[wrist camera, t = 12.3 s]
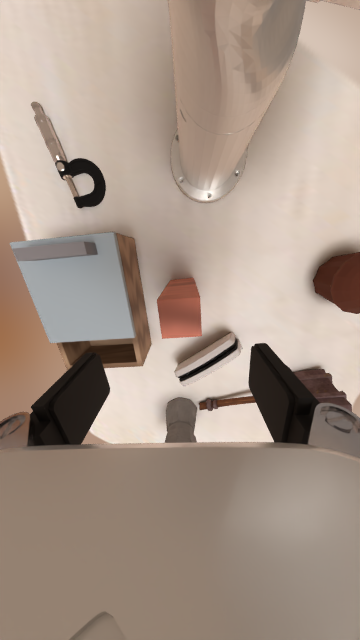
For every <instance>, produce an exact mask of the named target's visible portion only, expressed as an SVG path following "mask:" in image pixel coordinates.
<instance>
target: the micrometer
mask: <svg viewBox="0 0 360 640" xmlns="http://www.w3.org/2000/svg"><path fill="white" fill-rule="evenodd" d="M31 106H32V108H33V110H34V111H35V114H36V115H35V117H34V119H35V121H36V123H37V126H38V127H39V129H40V132H41V134H42V136H43V138H44V140H45V143H46V146H47V148H48V150H49V152H50V154H51V156H52V158H53V160H54V162H55V165H56V167H57V169H58V172H59V174H60V176H61V178H62V179H63V180H66V181H67V183H68V185H69V188H70V190H71V192H72V194H73V197H74V200H75V202H76V205H77V207H78V208H82V207H83V206H84V207H92V206H96V205H98V204H99V203H100V202H101V201H102V200H103V198H104V195H105V190H106V185H105V180H104V177H103V174H102V173H101V171H100V169H99V168H98V167H97V166H96V165H95V164H94V163H92V162H91V161H89V160H87V159H82V158H78V159H74V160H72V161H71V162H69V163H67V162H66V158H65V155H64V153H63V151H62V148H61V145H60V143H59V141H58V139H57V137H56V134H55V132H54V130H53V127H52V124H51V122H50V120H49V118H48V117H47V116H46V115H44V113H43V111H42V108H41V105H40V104H39V103H37V102H32V103H31ZM81 173H87V174H89V175H90V176H91V177H92V178H93V180H94V184H95V186H94V190H93V191H92V192H91V193H90V194H87V195H84V196H81V197H78V194H77V192H76V190H75V187H74V185H73V183H72V181H71V178H73V176H75V175H78V174H81Z"/></svg>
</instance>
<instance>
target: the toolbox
mask: <svg viewBox="0 0 360 640" xmlns="http://www.w3.org/2000/svg"><path fill="white" fill-rule="evenodd" d="M116 236H117V241H118V246H119V251H120V256H121V261H122V266H123V272H124V277H125V282H126V287H127V292H128V297H129V302H130V307H131V312H132V317H133V322H134V327H135V332H136V336H135V338H124V339H107V340H91V341H75V342H59V343H57V345H58V348H59V350H60V353H61V355H62V358H63V361H64V363H65V366H66V368H67V370H69V369H70V368H71V367H72V366H73V365H74V364H75V363H76V362H77V361H78V360H79V359H80V358H81V357H82V356H83V355H84V354H85V353H94V352H95V353H97V354H98V355H100V357H101V361H102V364H103V367H104V368H115V367H135V366H143V364H144V362H145V359H146V357H147V354H148V352H149V349H150V347H151V338H150V332H149V326H148V320H147V314H146V308H145V302H144V296H143V290H142V284H141V278H140V272H139V265H138V259H137V253H136V247H135V241H134V239H132V238H129V237H126V236H123V235H120V234H117V233H116Z"/></svg>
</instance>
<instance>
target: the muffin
mask: <svg viewBox="0 0 360 640" xmlns="http://www.w3.org/2000/svg"><path fill="white" fill-rule="evenodd" d="M313 282H314V286H315V292H316V293H318V294H319V295H321V296H323V297H324V298H325V299H327V300H329V301H331V302H332V303H334V304H336V305H337V306H338V307H339V308H340V309H341V310H343V311H345V312H350V313H355V314H358V313H360V252H358V253H352V254H347V255H341V256H336V257H332V258H331V259H330V260H328V261H327V262H326V263H325V264H323V265H322V266H320V267H319V269H318V271H317V274H316V276H315V278H314V279H313Z"/></svg>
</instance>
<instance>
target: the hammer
mask: <svg viewBox="0 0 360 640" xmlns="http://www.w3.org/2000/svg"><path fill="white" fill-rule="evenodd" d="M293 373H294V374H295V375H296V376H297V377H298V379H299V380H300V381H301V382H302V383H303V384H304V385H305V386H306V388H307V389H308V390H309V391H310V392H311V393H312V394H313V395H314V397H315V398H316V399H317V400H318V401H319V402H320V403H332V404H336V405H339V406H341V407H344V408H346V409H348V410H349V411H351V412H352V405H351V404H350V403H349V402H348V401H347V400H346V394H345V393H344V392H343V391H340V392H339V391H338V390H337V389H336V388H335V387H334V385H333V384H332V375H331V374H329V373H325V371H324V369H317V370H308V371H298V372H293ZM255 402H256V401H255V399H254V397H253V396H249V397H240V398H232V399H224V400H213V401H212V400H210V399H207V401H206V402H202V403H200V404H199V405H200V407H199V408H200V410H204V409H208V411H212V410H213V408H214V409H218V407H222V406H229V405H237V404H246V403H255Z"/></svg>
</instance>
